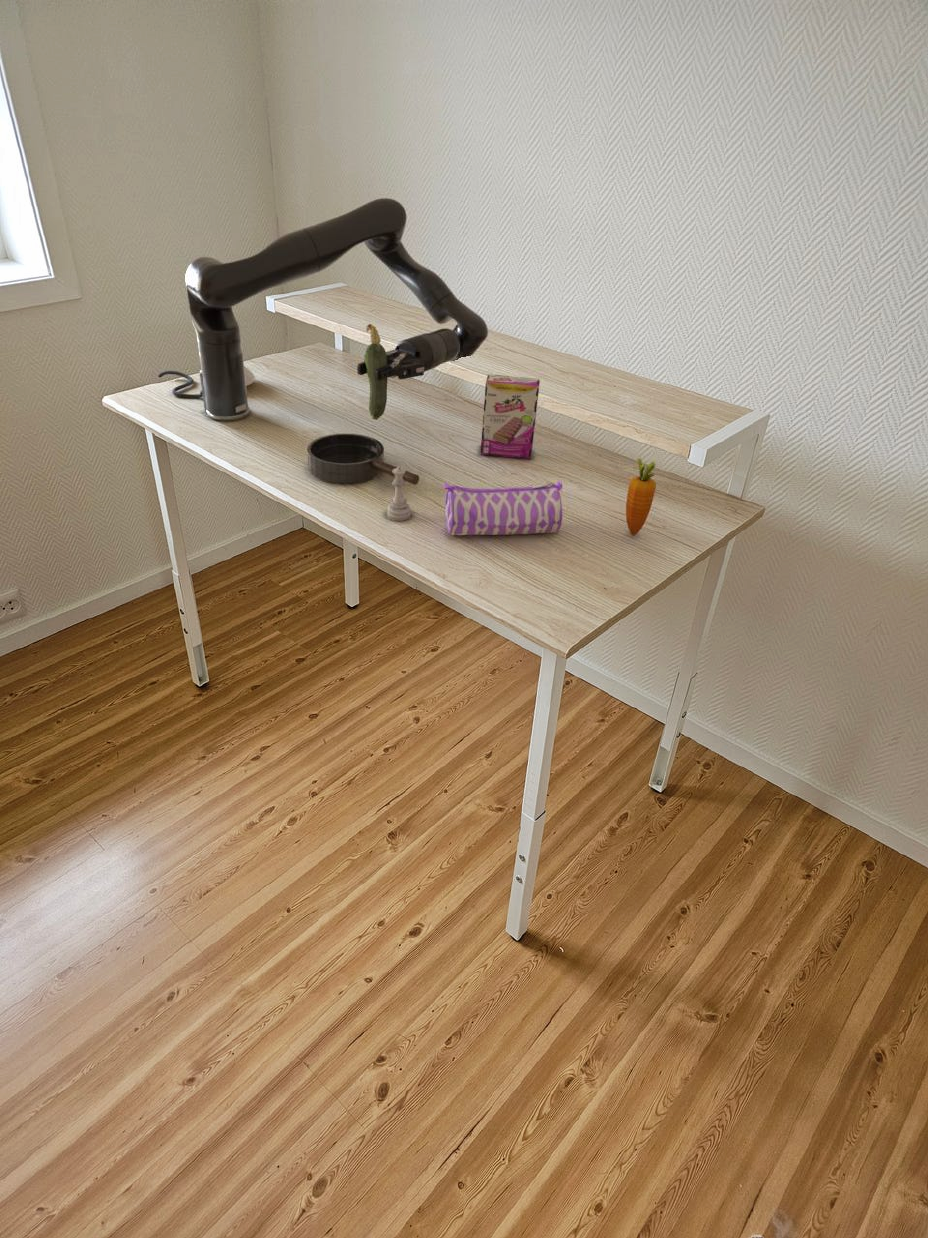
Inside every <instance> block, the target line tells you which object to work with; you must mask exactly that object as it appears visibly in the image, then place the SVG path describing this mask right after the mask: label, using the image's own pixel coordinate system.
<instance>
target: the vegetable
mask: <svg viewBox="0 0 928 1238" xmlns="http://www.w3.org/2000/svg"><path fill="white" fill-rule="evenodd" d="M365 329H366V332H370V344H368V346H367V347H366V349H365V354H364V355H365V362H366V368H367V373H366V375H367V378H368V382H369V401H368V402H369V406H368V411H369V413H370V414H369V415H370V416H371V420H374V421H378V419H380V418H381V417H382V416H383V414H384V412H385V410H386V406H387V401H388V378H386V379H383V380H380V381H377V380H375V370H376V369H379V368H382V367H385V366H387V356H386V352H387V351H386V349H385V347H384V346H383V345H382V344H381V342H382V341H381V337H380V334H379V331H378V330H377V327H376V326H374V324H372V323H369V324H367V325H366V327H365Z"/></svg>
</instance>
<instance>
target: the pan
mask: <svg viewBox="0 0 928 1238" xmlns="http://www.w3.org/2000/svg"><path fill="white" fill-rule="evenodd" d="M373 459H378V460H380V461H383V462H385V447H384V445H383V443H381V442H380V440H377V439H376V438H373V437H371V436H369V435H364V434H358V433H348V432H347V433H333V434H327V435H324V436H320V437H318V438H316V439H314V440H312V441H311V442H309V444H308V445H307V447H306V460H307V468H308V469H307V470H308V471H309V473H310V475H313V476H314V477H315V478H317V479H318V480H319V481H322V482H326V483H329V484H335V485H357V484H363V483H367V482H369V481H372V480H374V479H376V478H377V477H378V476H379V475H381V474H382V473H383V472H380V471H378V470H375V469H373V468H371V462H372V460H373Z"/></svg>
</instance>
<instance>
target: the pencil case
mask: <svg viewBox="0 0 928 1238" xmlns="http://www.w3.org/2000/svg"><path fill="white" fill-rule="evenodd" d="M442 485H443V488H444V490H446V495H445V503H444V522H445V523H444V524H445V527H446V531H447V533H448V534H449V535H450V536H455V535H456V536H465V535H466V536H467V535H468V536H473V535H480V536H481V535H482V536H484V535H485V536H487V535H490V536H493V535H494V536H498V535H499V536H500V535H502V536H504V535H506V536H507V535H530V534H531V535H532V534H547V533H548V534H551V533H557V532H559V531H560V529H561V527H562V523H563V504H562V496H561V492H560V491H561V490H562V489H563V483H562V481H561V480H558V481H557V483H556V484H555V483H553V482H547V483H546V484H545V483H544V484H537V485H533V486H523V487H522V486H520V487H519V486H518V487H517V486H515V487H513V486H512V487H506V488H473V487H464V486H458V485H456V484H452V485H451V484H449V483H447V482H442Z"/></svg>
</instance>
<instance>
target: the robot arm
mask: <svg viewBox="0 0 928 1238" xmlns="http://www.w3.org/2000/svg"><path fill="white" fill-rule="evenodd" d="M407 218H408V217H407V211H406V209H405V207H404V206H403V204H402V203H400V202H399V201H397V200H396V199H394V198H390V197H389V198H387V197H380V198H377V199H374V200H371V201H369V202H367V203H365V204H363V205H361V206H358V207H356V208H355V209H352V210H351V211H348V212H346V213H344V214H341V215H339V216H336V217H333V218H330V219H327V220H324V221H322V222H319V223H317V224H314V225H310V226H307V227H303V228H300V229H297V230H295V231H292V232H287V233H286V234H284V235H281V236H279V237H278V238H276V239H274V240H273V241H272V242H270V243H269V244H268V245H267V246H266V247H264V248H263V249H262V250H261V251H259V252H257V253H256V254H254V255H252V256H248V257H246V258H242V259H239V260H235V261H231V262H222V261H219V260H218V259H215V258H213V257H209V256H201V257H198V258H196V259H194V260H193V261H192V262H190V264H189V265H188V267H187V270H186V273H185V289H186V296H187V301H188V308H189V313H190V318H191V322H192V325H193V327H194V330H195V333H196V340H197V347H198V354H199V363H200V368H201V370H200V371H199V378H200V386H201V387H200V388H201V390H200V391H199V393H197V394H192V393H191V394H189V393H181V392H178V391H180V390H182V389H185V388H188V387H190V386H191V385H193V384H194V382H195V380H194V379H193V377H191V376H189V375H188V374H186V373H183V372H180V371H177V370H164V371H161V372H159V374H158V375H157V378H162V377H164V376H166V375H175V376H178V377H182V378H184V379H186V380H188V382H185V383H183V384H180V385H177V386H175V387H174V388H173V389H172V391H171V393H172V394H173V395H174V396H176V397H179V398H185V399H200V398H202V402H203V407H204V412H205V413H206V415H207V417H208V418H210V419H212V420H215V421H222V422H229V421H237V420H241V419H244V418H246V417H248V416H249V414H250V407H249V400H248V390H247V386H246V380H245V371H244V366H245V363H244V353H243V346H242V345H243V344H242V335H241V327H240V325H239V322H238V321H237V319H236V317H235V314H234V310H233V307H234V306H235V307H236V306H237V305H238V304H241V303H243V302H244V301H246V300H248V299H250V298H252V297H254V296H256V295H258V294H260V293H263V292H265V291H268V290H270V289H274V288H277V287H280V286H283V285H286V284H289V283H292V282H294V281H297V280H301V279H304V278H307V277H309V276H312V275H315V274H318V273H320V272H323V271H324V270H327V269H329V268H330V267H331V266H332V265H334V264H335V263H336V262H337V261H338V260H340V259H341V258H342V257H343V256H345V255H346V254H347V253H348V252H349V251H351V250H352V249H353V248H356V246H358V245H360V244H362V243H363V244H364V245H365V247H366V248H367V249H368V250H369V251H370V252H371V253H372V254H373V255H374V256H375V257H376V259H378V260H379V261H380V262H381V263H382V264H384V265H385V266H386V267H387V269H389V270H390V271H391V272H392V273H393V274H394V275H395V276H396V277H397V278H398V279H399V280H400V281H401V282H402V283H404V285H405V286H406V287H407V288H408V289H409V290H410V291H411V292H412V293H413V295H414V297H416V298H417V300H418V301H419V302H420V303H421V305H422V306H423V308H424V309H425V310H426V311H427V313H428V314H429V316H431V318H432V319H433V320H434V321H435V322H436V323H437V324H439V325H444V324H447V323H448V322H450V321H451V320H454V321H455V322H456V323H457V324H456V325H455V327H454V328H452V329H450V328H447V327H446V328H440V329H437V330H433V331H431V332H425V333H421V334H418V335H415V336H411V337H408V338H406V339H403V340H401V341H400V342H398V344H397V345H396V346H395V349H391V350H387V351H386V356H387V366H385V367H382V368H379V369H376V370H375V380H377V381H380V380H383V379H386V378H387V379H388V378H391V379H395V378H396V377H397V378H398V380H406V379H411V378H415V377H421V376H424V375H425V372H428V371H430V370H433V369H435V368H437V367H439V366H441V365H443V364H445V363H448V362H456V361H455V360H458V359H459V358H461V357H466V356H471V355H472V356H474V354H475V353H476V352H477V350H478V349H479V348H480V347H481V345H482V344H483V343H484V342H485V341H486V339H487V338H488V336H489V328H488V325H487V323H486V320H484V318H483V317H482V316H480V315H479V314H478V313H476V312H475V311H474V310H472V309H471V308H470V307H468V306H467V305H466V304H465V303H463V301H461V300H460V299H458V297H457V296H456V295H455V294H454V293H453V291H452V290H451V288H450V287H449V286H448V284H447V283H446V282H445V281H444V280H443V278H441V277H440V276H439V275H438V274H437V273H436V272H435V271H433V270H431V269H430V268H427V267H426V266H424V265H422V264H420V263H419V262H418V261H416V260H415V259H414V258H413V257H412V256H411V255H410V254H409V251H408V250H407V249H406V247H405V245H404V244H403V242H402V238H403V235H404V232H405V230H406V226H407ZM363 356H364V357H363V358H364V361H362V362H360V363H357V366H356V369H357V370H356V371H357V375H359V376H363V375H367V368H366V362H365V354H364V355H363ZM472 356H471V357H472Z"/></svg>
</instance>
